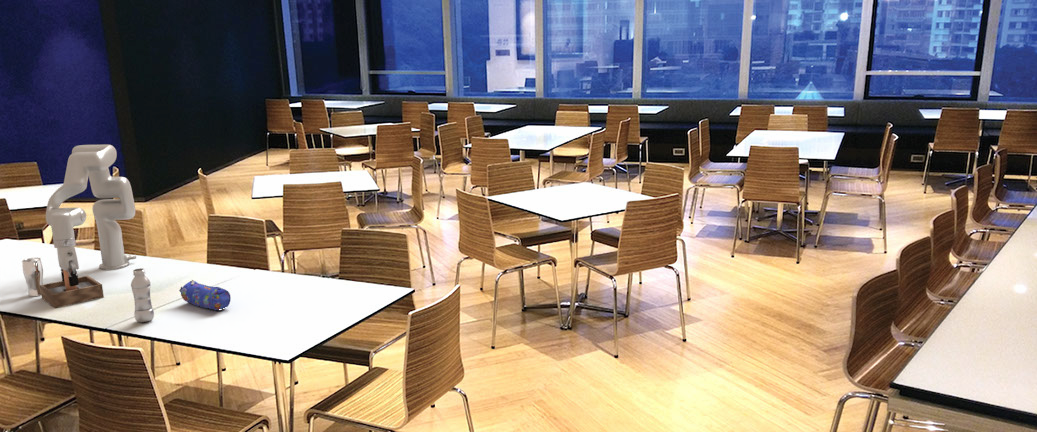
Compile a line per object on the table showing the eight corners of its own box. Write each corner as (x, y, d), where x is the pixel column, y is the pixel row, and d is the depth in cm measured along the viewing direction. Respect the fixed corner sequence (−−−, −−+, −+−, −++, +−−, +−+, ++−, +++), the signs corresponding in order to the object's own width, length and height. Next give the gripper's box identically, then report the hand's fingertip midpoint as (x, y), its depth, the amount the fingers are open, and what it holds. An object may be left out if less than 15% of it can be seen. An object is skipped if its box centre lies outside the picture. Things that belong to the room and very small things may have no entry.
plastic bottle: (139, 318, 295) (132, 267, 290) (157, 317, 295) (151, 267, 291) (132, 324, 288) (125, 272, 284) (151, 323, 289) (144, 272, 284)
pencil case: (180, 304, 310) (177, 281, 308) (199, 298, 317) (196, 276, 315) (214, 314, 298) (211, 290, 296) (233, 308, 305) (231, 284, 303)
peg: (76, 293, 323) (72, 265, 320) (79, 295, 320) (75, 267, 317) (65, 295, 320) (61, 267, 317) (68, 297, 317) (64, 269, 314)
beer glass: (50, 293, 327) (45, 258, 323) (34, 298, 320) (28, 262, 317) (39, 291, 329) (34, 256, 326) (23, 295, 323) (17, 261, 320)
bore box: (89, 287, 333) (87, 275, 331) (103, 297, 320) (102, 284, 319) (41, 298, 320) (39, 285, 319) (54, 308, 308) (52, 294, 306)
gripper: (81, 244, 312) (87, 285, 315) (68, 237, 323) (74, 276, 327) (60, 247, 306) (67, 289, 310) (47, 240, 318) (54, 280, 322)
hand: (70, 283), depth 319 cm, fingers open, 9 cm apart
